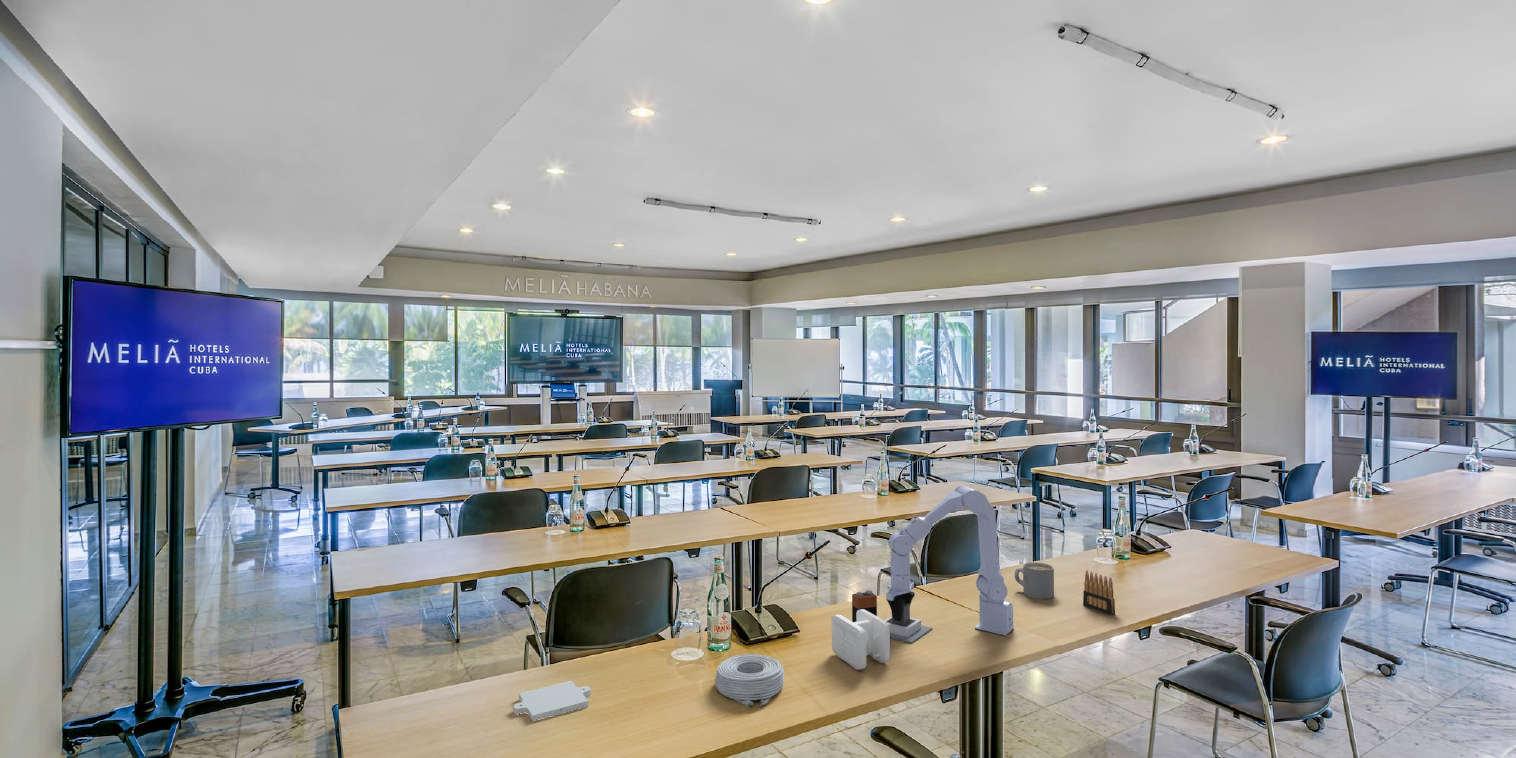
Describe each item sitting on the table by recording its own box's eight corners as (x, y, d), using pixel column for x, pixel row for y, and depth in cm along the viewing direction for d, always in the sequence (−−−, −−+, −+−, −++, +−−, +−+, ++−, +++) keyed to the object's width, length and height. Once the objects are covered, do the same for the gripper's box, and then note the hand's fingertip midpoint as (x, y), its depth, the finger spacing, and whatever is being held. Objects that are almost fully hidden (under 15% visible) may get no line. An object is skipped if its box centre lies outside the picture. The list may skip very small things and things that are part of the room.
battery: (877, 624, 213) (877, 592, 213) (858, 627, 211) (857, 595, 211) (870, 619, 217) (870, 588, 217) (851, 622, 215) (851, 590, 215)
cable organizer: (892, 667, 182) (892, 623, 182) (859, 675, 178) (858, 630, 178) (861, 647, 196) (860, 606, 196) (829, 654, 191) (829, 612, 191)
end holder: (932, 629, 209) (932, 619, 209) (911, 643, 198) (911, 633, 198) (891, 619, 217) (890, 610, 217) (869, 632, 206) (869, 622, 206)
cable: (760, 712, 159) (760, 686, 159) (700, 694, 168) (700, 669, 168) (796, 683, 174) (796, 659, 174) (739, 668, 183) (739, 645, 183)
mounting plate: (521, 727, 154) (520, 718, 154) (508, 703, 165) (508, 696, 165) (598, 705, 163) (598, 697, 163) (581, 685, 174) (581, 677, 174)
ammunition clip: (1082, 605, 229) (1082, 569, 229) (1086, 604, 230) (1086, 569, 230) (1111, 615, 219) (1111, 578, 219) (1115, 614, 220) (1115, 577, 220)
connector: (909, 623, 208) (909, 599, 208) (903, 626, 205) (903, 602, 205) (897, 620, 210) (897, 596, 210) (891, 623, 207) (891, 600, 207)
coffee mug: (1059, 595, 239) (1059, 567, 239) (1042, 600, 234) (1042, 571, 234) (1026, 585, 250) (1026, 558, 250) (1009, 590, 245) (1009, 563, 245)
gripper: (899, 565, 216) (899, 608, 216) (876, 576, 204) (877, 621, 204) (920, 569, 211) (920, 613, 211) (898, 580, 200) (898, 627, 200)
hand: (900, 617), depth 208 cm, fingers closed on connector, 4 cm apart
